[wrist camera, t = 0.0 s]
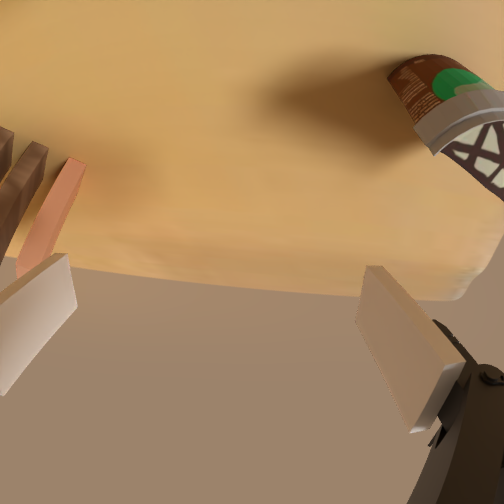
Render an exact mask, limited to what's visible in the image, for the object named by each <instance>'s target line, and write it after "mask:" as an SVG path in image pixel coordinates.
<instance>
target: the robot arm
mask: <svg viewBox="0 0 504 504" xmlns="http://www.w3.org/2000/svg"><path fill="white" fill-rule="evenodd" d="M77 307H78V306H77V301H76V296H75V292H74V287H73V282H72V276H71V272H70V265H69V259H68V254H66V253H54V254H53V255H51V256H50V257H48V258H47V259H45V260H44V261H43V262H41V263H40V264H38V265H37V266H35V267H34V268H33V269H31V270H30V271H28V272H27V273H26V274H24V275H23V276H21V277H20V278H19V279H17V280H16V281H15V282H13V283H12V284H11V285H9V286H8V287H7V288H5V289H4V290H3V291H1V292H0V395H1V396H4V395H5V394H6V393H7V391H8V390H9V389H10V387H11V386H12V385H13V383H14V382H15V381H16V379H17V378H18V377H19V376H20V374H21V373H22V372H23V371H24V369H25V368H26V366H28V364H29V363H30V362H31V361H32V359H33V358H34V357H35V356H36V354H37V353H38V352H39V351H40V350H41V348H42V347H43V346H44V345H45V344H46V343H47V341H48V340H49V339H50V338H51V337H52V336H53V334H54V333H55V332H56V331H57V330H58V329H59V327H60V326H61V325H62V324H63V323H64V322H65V321H66V319H67V318H68V317H69V316H70V315H71V314H72V313H73V312H74V311H75V309H76V308H77ZM355 323H356V325H357V327H358V328H359V330H360V332H361V334H362V336H363V338H364V340H365V342H366V344H367V346H368V348H369V350H370V352H371V354H372V356H373V358H374V360H375V362H376V364H377V366H378V368H379V370H380V372H381V374H382V376H383V378H384V380H385V382H386V384H387V386H388V388H389V390H390V393H391V394H392V396H393V399H394V401H395V403H396V405H397V407H398V410H399V412H400V414H401V416H402V418H403V420H404V422H405V425H406V427H407V429H408V431H409V433H413V432H418V431H422V430H426V429H430V427H431V426H432V424H433V422H434V421H435V419H436V417H437V416H438V418H439V419H440V421H441V423H442V425H441V427H440V428H439V430H438V431H437V433H436V434H435V436H434V437H433V439H432V440H431V441H430V443H429V444H428V446H429V447H430V446H431V445H432V444H433V445H432V448H431V450H430V453H429V455H428V458H427V461H426V463H425V465H424V468H423V470H422V472H421V475H420V477H419V479H418V482H417V484H416V486H415V488H414V490H413V492H412V494H411V496H410V498H409V500H408V502H407V504H504V373H503V372H502V371H500V370H499V369H498V368H496V367H494V366H492V365H488V364H479V365H478V364H477V363H476V361H475V360H474V359H473V357H472V356H471V355H470V354H469V353H468V352H467V350H466V349H465V348H464V347H463V346H462V344H461V343H459V341H458V340H457V339H456V337H453V334H452V333H451V332H450V331H449V330H448V328H447V327H446V326H444V325H443V324H441V323H440V322H438V321H437V320H431V319H430V317H429V316H428V315H427V314H426V313H425V312H424V311H423V309H422V308H421V307H420V306H419V305H418V304H417V303H416V302H415V300H414V299H413V298H412V297H411V296H410V295H409V294H408V293H407V292H406V291H405V290H404V288H403V287H402V286H401V285H400V284H399V283H398V282H397V281H396V280H395V279H394V278H393V277H392V276H391V275H390V274H389V272H388V271H387V270H386V269H385V268H384V267H383V266H367V265H366V270H365V275H364V280H363V286H362V291H361V296H360V301H359V305H358V310H357V315H356V319H355Z"/></svg>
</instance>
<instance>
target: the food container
mask: <svg viewBox="0 0 504 504" xmlns="http://www.w3.org/2000/svg"><path fill="white" fill-rule="evenodd" d="M387 80H388V81H389V82H390V84H391V85H392V87H393V88H394V90H395V91H396V93H397V95H398V96H399V98H400V99H401V101H402V102H403V104H404V106H405V107H406V109H407V110H408V112H409V114H410V115H411V117H412V119H413V120H414V122H415V124H416V125H415V126H414V127H413V129H414V130H415V132H416V133H417V134H418V136H419V137H420V138H421V140H422V141H423V143H424V144H425V145H426V146H427V147H428V148H429V149H430V151H431V152H432V154H433V156H436V155H437V154H438V153H439V152H441V153H444V154H445V155H447V156H448V157H450V158H451V159H452V160H454V161H455V162H456V163H458V164H459V165H460V166H461V167H463V168H464V169H465V170H466V171H467V172H469V173H470V174H471V175H472V176H473V177H474V178H475V179H477V180H478V181H479V182H480V183H481V184H482V185H483V186H484V187H485V188H487V189H488V190H489V191H491V192H492V193H494V194H495V195H496V196H498V197H499V198H500V199H501V200H502V201H504V92H503V91H498V90H495V89H494V88H492V87H491V86H490V85H489V84H487V83H486V82H485V81H483V80H482V79H481V78H479V77H478V76H477V75H475V74H474V73H473V72H471V71H470V70H468V69H467V68H466V67H464V66H463V65H461V64H460V63H458V62H457V61H455V60H453V59H451V58H449V57H446V56H442V55H435V54H430V55H422V56H418V57H415V58H412V59H410V60H408V61H406V62H405V63H403V64H401V65H400V66H399V67H398V68H396V69H395V70H394V71H393V72H392V73H391V75H390V76H389V77H388V78H387Z"/></svg>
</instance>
